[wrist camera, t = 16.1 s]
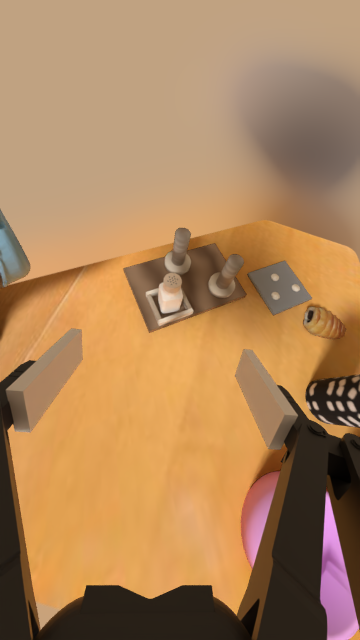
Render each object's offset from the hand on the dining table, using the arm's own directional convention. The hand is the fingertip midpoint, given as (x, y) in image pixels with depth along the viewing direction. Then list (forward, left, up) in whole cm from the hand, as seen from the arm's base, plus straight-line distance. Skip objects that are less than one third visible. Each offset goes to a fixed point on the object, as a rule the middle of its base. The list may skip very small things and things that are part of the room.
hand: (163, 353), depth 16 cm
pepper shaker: (-1, +16, -22) cm, 27 cm away
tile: (+24, +28, -23) cm, 44 cm away
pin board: (+1, +22, -23) cm, 32 cm away
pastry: (+34, +21, -24) cm, 47 cm away
